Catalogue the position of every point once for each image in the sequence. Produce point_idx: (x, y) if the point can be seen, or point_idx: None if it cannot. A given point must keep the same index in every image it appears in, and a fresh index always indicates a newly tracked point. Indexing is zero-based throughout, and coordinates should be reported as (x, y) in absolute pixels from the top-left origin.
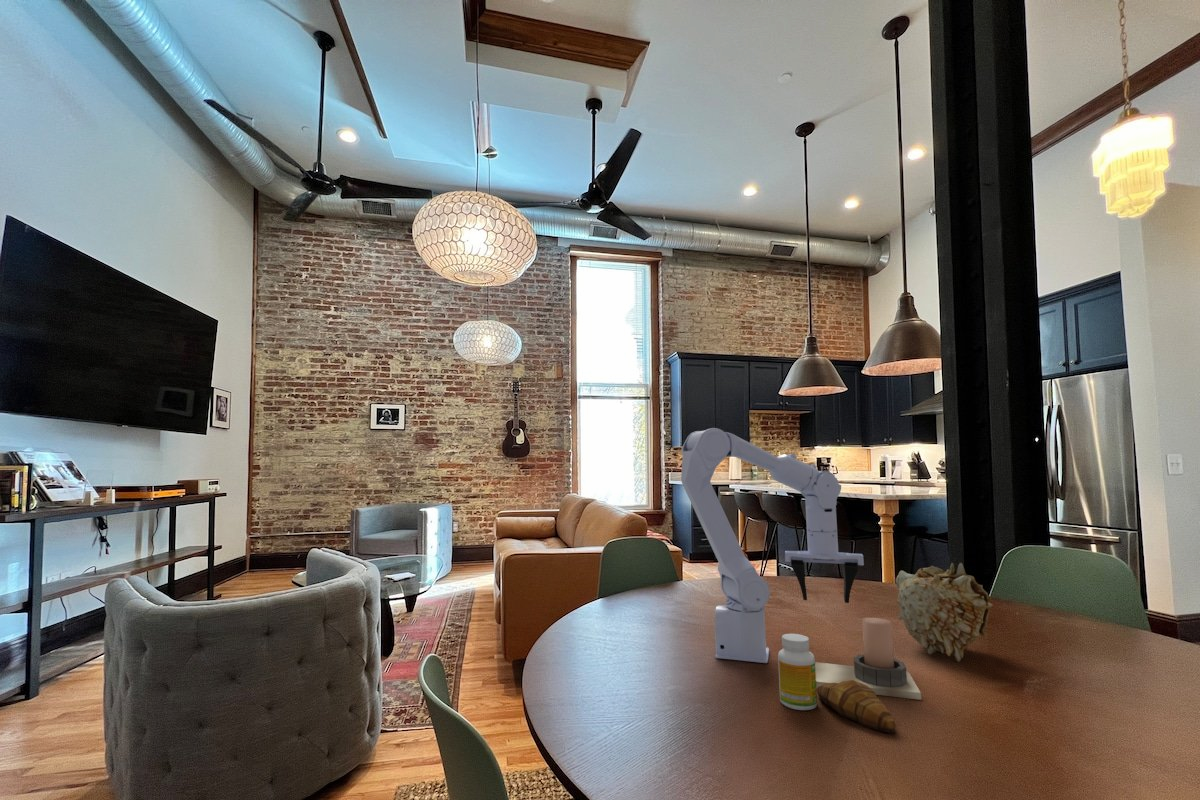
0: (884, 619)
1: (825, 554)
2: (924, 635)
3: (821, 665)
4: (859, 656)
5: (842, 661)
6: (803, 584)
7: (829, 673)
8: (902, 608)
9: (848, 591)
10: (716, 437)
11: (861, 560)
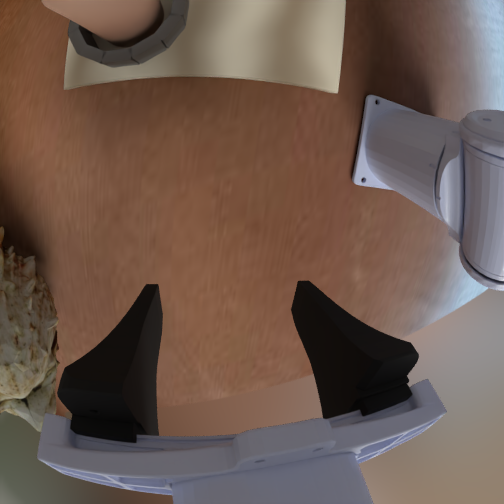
0: (48, 5)
1: (271, 472)
2: (22, 272)
3: (258, 60)
4: (163, 32)
5: (193, 146)
6: (333, 312)
7: (247, 14)
8: (38, 331)
9: (136, 308)
10: None
11: (48, 436)
